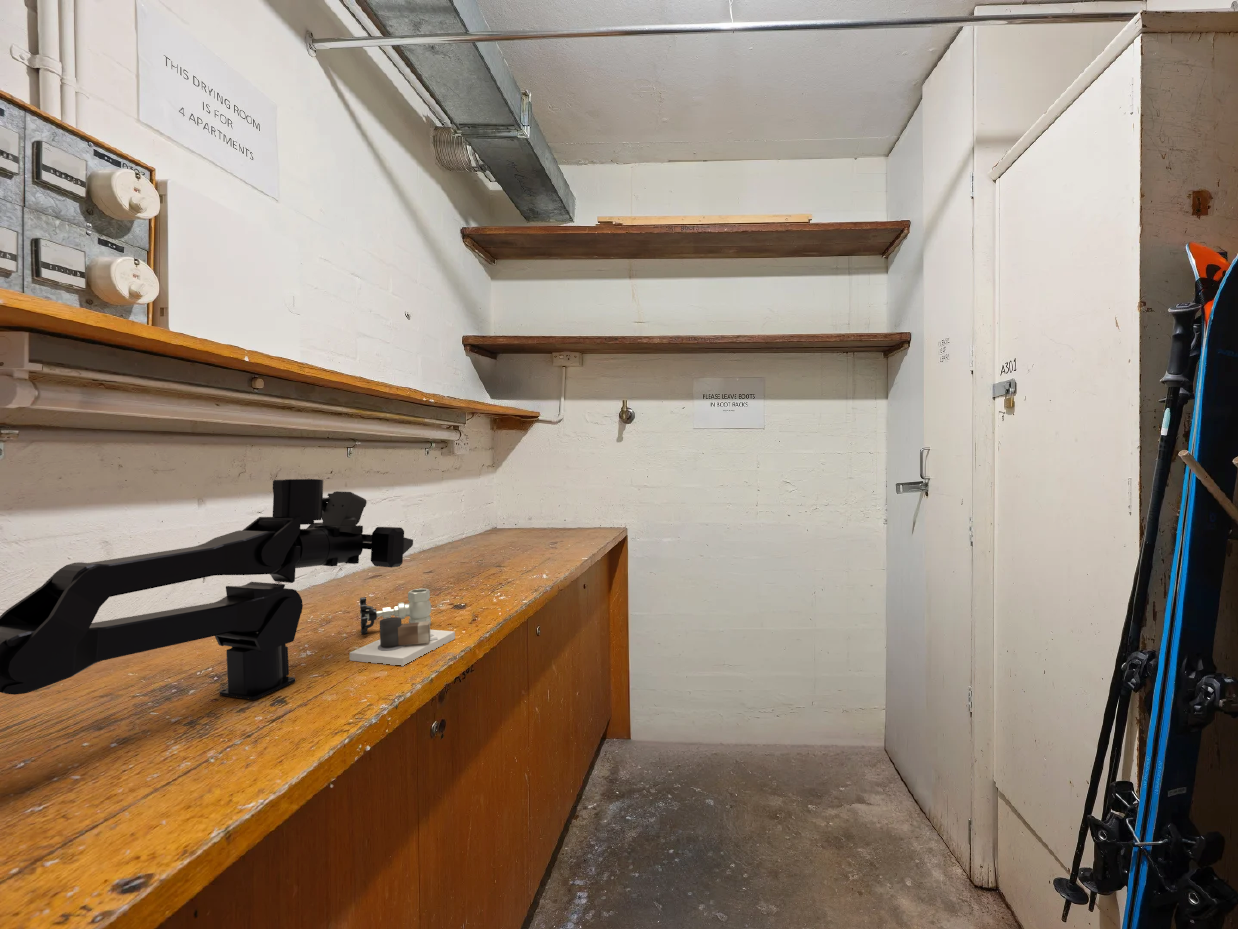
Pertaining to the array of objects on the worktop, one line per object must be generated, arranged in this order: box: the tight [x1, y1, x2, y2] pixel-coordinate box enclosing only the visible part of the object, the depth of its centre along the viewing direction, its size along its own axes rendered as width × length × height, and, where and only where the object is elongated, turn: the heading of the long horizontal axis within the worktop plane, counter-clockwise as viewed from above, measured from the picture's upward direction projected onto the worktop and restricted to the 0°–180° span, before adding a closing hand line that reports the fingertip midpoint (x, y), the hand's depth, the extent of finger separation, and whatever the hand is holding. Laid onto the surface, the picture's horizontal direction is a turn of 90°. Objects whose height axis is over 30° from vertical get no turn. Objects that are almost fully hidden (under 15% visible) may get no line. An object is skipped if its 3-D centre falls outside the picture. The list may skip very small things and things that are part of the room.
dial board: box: [348, 629, 456, 667], centre depth 92 cm, size 13×10×1 cm
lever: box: [379, 616, 431, 647], centre depth 90 cm, size 7×3×4 cm, turn 101°
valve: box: [359, 588, 432, 635], centre depth 103 cm, size 7×7×12 cm
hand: (391, 541), depth 100 cm, fingers open, 9 cm apart
